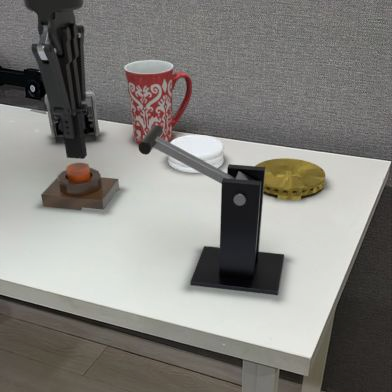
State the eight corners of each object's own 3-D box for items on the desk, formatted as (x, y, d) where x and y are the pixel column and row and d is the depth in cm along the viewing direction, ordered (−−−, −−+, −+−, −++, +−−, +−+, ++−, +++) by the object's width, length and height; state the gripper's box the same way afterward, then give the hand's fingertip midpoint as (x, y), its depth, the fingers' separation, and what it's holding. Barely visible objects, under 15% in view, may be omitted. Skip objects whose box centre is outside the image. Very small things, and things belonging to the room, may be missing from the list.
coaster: (191, 179, 96) (191, 159, 94) (157, 161, 102) (156, 142, 100) (234, 164, 101) (235, 145, 99) (199, 148, 107) (199, 129, 104)
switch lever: (135, 154, 63) (142, 135, 61) (148, 137, 67) (155, 118, 65) (245, 213, 65) (255, 196, 63) (251, 192, 69) (261, 176, 67)
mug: (135, 152, 106) (130, 74, 97) (125, 135, 112) (119, 61, 103) (199, 144, 109) (199, 68, 100) (185, 128, 115) (184, 56, 106)
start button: (64, 181, 87) (62, 170, 86) (72, 172, 90) (71, 161, 89) (86, 183, 86) (84, 172, 85) (94, 174, 89) (92, 163, 88)
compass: (237, 184, 95) (237, 171, 93) (283, 164, 101) (284, 152, 99) (291, 208, 88) (293, 195, 86) (338, 185, 94) (340, 173, 93)
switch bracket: (190, 289, 71) (189, 186, 62) (204, 253, 78) (204, 155, 69) (277, 299, 69) (288, 195, 60) (283, 261, 76) (294, 162, 67)
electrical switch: (100, 134, 112) (94, 87, 106) (101, 147, 109) (95, 98, 102) (52, 137, 111) (43, 90, 105) (52, 150, 108) (43, 101, 101)
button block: (43, 207, 88) (38, 183, 86) (62, 186, 94) (58, 163, 92) (103, 213, 87) (100, 189, 84) (119, 191, 93) (117, 168, 90)
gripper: (57, -20, 65) (85, 175, 80) (95, -34, 75) (113, 142, 90) (-3, -21, 66) (36, 171, 82) (42, -35, 76) (69, 139, 91)
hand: (77, 156), depth 86 cm, fingers closed
